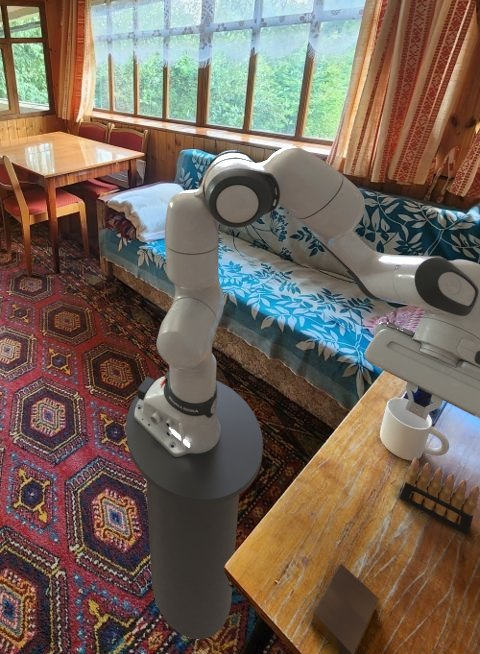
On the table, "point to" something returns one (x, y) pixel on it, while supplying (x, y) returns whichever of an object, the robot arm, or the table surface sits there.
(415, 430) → the mug
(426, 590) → the table surface
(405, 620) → the table surface
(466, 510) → the ammunition clip
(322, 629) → the walnut block
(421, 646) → the table surface
